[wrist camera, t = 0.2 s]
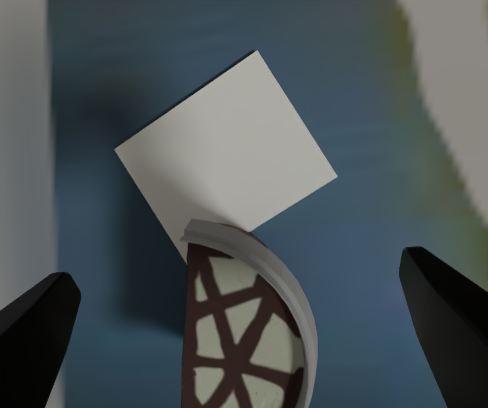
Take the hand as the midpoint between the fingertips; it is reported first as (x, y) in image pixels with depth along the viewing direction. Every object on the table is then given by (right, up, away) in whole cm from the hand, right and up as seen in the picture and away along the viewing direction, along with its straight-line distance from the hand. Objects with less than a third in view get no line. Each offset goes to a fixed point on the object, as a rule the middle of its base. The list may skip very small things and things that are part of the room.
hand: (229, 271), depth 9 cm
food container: (+1, -4, +15) cm, 16 cm away
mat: (-1, +5, +15) cm, 15 cm away
